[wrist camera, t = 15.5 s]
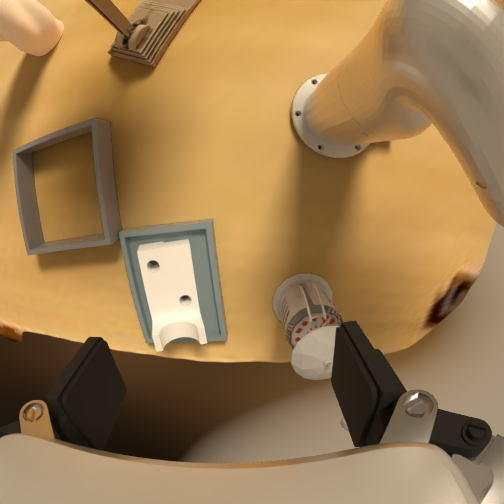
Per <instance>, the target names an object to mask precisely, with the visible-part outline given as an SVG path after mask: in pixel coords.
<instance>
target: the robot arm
mask: <svg viewBox="0 0 504 504" xmlns="http://www.w3.org/2000/svg"><path fill="white" fill-rule="evenodd" d="M495 2H496V3H497V4H496V3H495ZM495 2H494V1H493V0H388V1H387V2H386V4H385V5H384V7H383V9H382V11H381V12H380V14H379V16H378V18H377V19H376V21H375V23H374V25H373V26H372V28H371V29H370V31H369V32H368V34H367V35H366V36H365V37H364V38H363V40H362V41H361V42H360V43H359V44H358V45H357V46H356V47H355V48H354V49H353V50H352V51H351V52H350V53H349V54H348V55H347V56H346V57H345V58H344V59H343V60H342V61H341V62H340V63H339V64H338V65H337V66H336V67H335V68H334V69H333V70H332V71H331V72H330V73H328V74H320V75H316V76H314V77H312V78H309V79H308V80H307V81H305V82H304V83H303V84H302V85H301V86H300V87H299V89H298V90H297V92H296V93H295V95H294V98H293V101H292V106H291V117H292V121H293V125H294V127H295V130H296V132H297V134H298V135H299V137H300V138H301V140H302V141H303V142H304V143H305V144H306V145H307V146H308V147H309V148H311V149H312V150H314V151H315V152H317V153H319V154H321V155H324V156H327V157H331V158H346V157H351V156H354V155H356V154H358V153H360V152H361V151H363V150H364V149H365V148H366V147H367V146H368V145H369V144H370V143H374V142H382V141H390V140H399V139H406V138H411V137H414V136H417V135H419V134H421V133H422V132H424V131H425V130H426V129H427V128H428V127H429V126H430V125H431V124H432V123H433V124H434V126H435V127H436V128H437V130H438V131H439V133H440V134H441V136H442V137H443V139H444V140H445V141H446V142H447V143H448V145H449V146H450V148H451V150H452V151H453V153H454V154H455V156H456V158H457V159H458V161H459V163H460V165H461V166H462V168H463V170H464V172H465V173H466V175H467V177H468V179H469V181H470V182H471V184H472V186H473V188H474V190H475V191H476V193H477V195H478V197H479V199H480V201H481V203H482V204H483V206H484V208H485V209H486V211H487V212H488V213H489V215H490V216H491V217H492V218H493V219H494V220H495V221H496V222H497V223H499V224H500V225H502V226H503V227H504V0H495ZM312 82H314V85H313V84H312ZM296 113H298V114H299V116H296V115H295V114H296ZM318 146H320V147H321V149H318ZM355 146H356V147H357V149H355ZM331 382H332V386H333V389H334V391H335V394H336V397H337V400H338V402H339V405H340V408H341V410H342V413H343V416H344V419H345V421H346V424H347V427H348V430H349V432H350V435H351V438H352V441H353V444H354V446H355V447H360V448H355V449H350V450H344V451H339V452H334V453H328V454H323V455H316V456H310V457H303V458H296V459H287V460H279V461H267V462H252V463H188V462H174V461H163V460H154V459H146V458H138V457H132V456H126V455H120V454H114V453H110V452H105V451H102V450H103V449H104V447H105V444H106V442H107V439H108V437H109V434H110V431H111V429H112V426H113V424H114V422H115V419H116V417H117V414H118V412H119V410H120V407H121V405H122V402H123V400H124V398H125V395H126V387H125V384H124V382H123V380H122V378H121V375H120V373H119V371H118V368H117V366H116V364H115V361H114V359H113V356H112V354H111V352H110V349H109V346H108V344H107V342H106V341H104V339H103V338H101V337H89V338H88V339H87V340H86V341H85V343H84V344H83V345H82V347H81V348H80V349H79V351H78V352H77V353H76V355H75V356H74V358H73V359H72V360H71V361H70V363H69V364H68V366H67V367H66V369H65V370H64V371H63V373H62V374H61V375H60V377H59V378H58V379H57V381H56V383H55V384H54V385H53V387H52V388H51V390H50V391H49V392H48V394H47V395H46V399H47V401H48V403H47V404H45V403H44V402H43V401H40V400H34V401H31V402H29V403H27V404H26V405H25V406H23V408H22V409H21V412H20V420H19V421H17V422H14V423H12V424H9V425H7V426H4V427H1V428H0V504H504V437H502V436H500V435H498V434H497V435H496V437H495V436H493V435H492V431H491V428H490V426H489V425H488V424H487V423H486V422H485V421H483V420H481V419H478V418H473V417H468V416H464V415H460V414H456V413H452V412H448V411H444V410H441V409H438V403H437V401H436V399H435V397H434V396H433V395H431V394H430V393H429V392H426V391H423V390H411V391H408V392H407V391H406V389H405V388H404V386H403V384H402V383H401V381H400V380H399V378H398V377H397V375H396V374H395V372H394V371H393V369H392V367H391V366H390V364H389V363H388V361H387V360H386V358H385V357H384V355H383V354H382V352H381V351H380V350H379V349H374V348H373V346H372V345H371V343H370V342H369V340H368V339H367V337H366V336H365V334H364V333H363V331H362V330H361V328H360V327H359V325H358V324H357V322H356V321H350V322H344V323H341V325H340V327H337V328H336V334H335V345H334V356H333V366H332V375H331ZM471 489H472V490H471Z"/></svg>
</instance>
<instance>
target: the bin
mask: <svg viewBox="0 0 504 504" xmlns="http://www.w3.org/2000/svg"><path fill="white" fill-rule="evenodd" d="M90 132H92V142H93V156H94V167H95V176H96V185H97V193H98V200H99V207H100V213H101V219H102V225H103V230H104V234H99V235H92V236H85V237H78V238H71V239H65V240H58V241H52V242H45V243H44V238H43V233H42V228H41V223H40V217H39V211H38V205H37V198H36V191H35V182H34V172H33V159H32V153H33V152H36V151H38V150H41V149H43V148H46V147H49V146H51V145H54V144H57V143H59V142H62V141H65V140H68V139H71V138H74V137H77V136H80V135H83V134H87V133H90ZM13 164H14V176H15V186H16V195H17V202H18V209H19V215H20V221H21V226H22V231H23V236H24V241H25V246H26V250H27V254H28V255H33V254H41V253H48V252H56V251H64V250H71V249H79V248H88V247H96V246H104V245H111V244H113V243H114V242H116V241H117V240H119V239H120V237H119V232H121V231H122V225H121V219H120V213H119V206H118V199H117V192H116V184H115V175H114V166H113V155H112V142H111V125H110V121H106V120H103V119H99V118H94V119H91V120H88V121H85V122H82V123H79V124H76V125H73V126H70V127H67V128H64V129H62V130H59V131H56V132H54V133H51V134H49V135H46V136H44V137H41V138H39V139H37V140H34V141H32V142H30V143H27V144H25V145H23V146H21V147H19V148H17V149H14V150H13Z"/></svg>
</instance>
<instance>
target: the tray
mask: <svg viewBox="0 0 504 504" xmlns="http://www.w3.org/2000/svg"><path fill="white" fill-rule="evenodd" d="M119 237H120V242H121V247H122V252H123V257H124V262H125V266H126V271H127V275H128V279H129V284H130V288H131V292H132V296H133V299H134V303H135V307H136V311H137V314H138V318H139V321H140V325H141V328H142V331H143V335H144V338H145V341H146V343H154V341H153V338H152V322H153V321H152V317H151V313H150V309H149V305H148V301H147V297H146V292H145V288H144V283H143V279H142V274H141V269H140V264H139V259H138V254H137V251H138V248H139V245H143V244H149V243H155V242H162V241H163V242H164V243H165V242H172V241H178V240H185V239H188V240H189V243H190V249H191V257H192V264H193V271H194V277H195V284H196V290H197V296H198V302H199V308H200V314H201V317H202V321H203V324H204V328H205V334H206V339H207V341H226V340H227V336H228V331H227V324H226V317H225V310H224V303H223V296H222V289H221V281H220V274H219V266H218V258H217V250H216V242H215V233H214V224H213V219H208V220H198V221H189V222H180V223H171V224H162V225H153V226H145V227H137V228H129V229H124V230H122V231H121V232H119ZM149 263H150V264H152V265H156V264H158V262H157V261H155V260H151V261H149ZM188 297H189V296H188V295H183V296H181V297H180V298H182V299H186V298H188ZM180 342H199V341H198V340H196V339H194V338H190V337H181V338H177V339H174V340H171V341H170V342H168V343H180Z"/></svg>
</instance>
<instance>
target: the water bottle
mask: <svg viewBox="0 0 504 504" xmlns="http://www.w3.org/2000/svg"><path fill="white" fill-rule="evenodd" d="M63 30H64V26H63V23H62V22H60V21H58V20H56V19H55V18H54V17H53V15H52V14H51V13H50V12H49V11H48V10H47V9H46V8H45V7H44V6H43V5H42V4H40V3H39V2H37V1H36V0H0V41H9V42H11V43H12V44H13V45H15V46H16V47H17V48H18V49H20V50H21V51H24V52H26V53H29V54H32V55H35V56H43V55H45V54H47V53H48V52H50V51H51V50H52V49H53V48H54V47H55V46H56V44H57V43H58V42H59V40H60V38H61V36H62V34H63Z"/></svg>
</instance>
